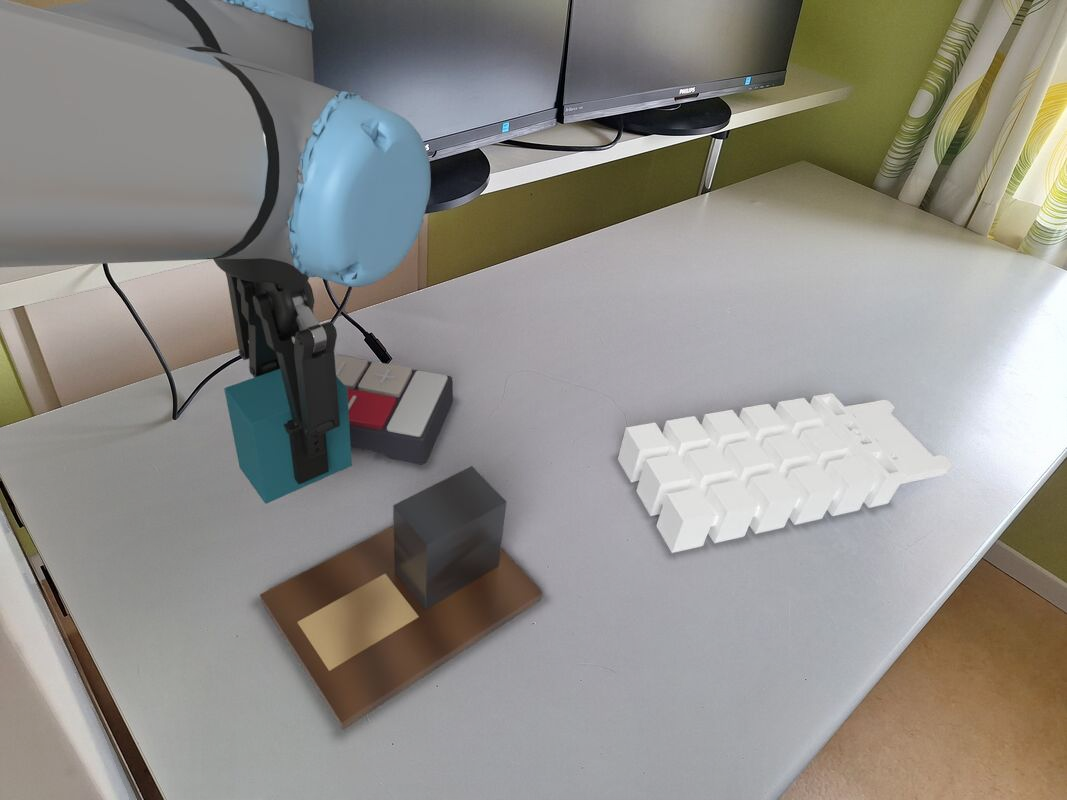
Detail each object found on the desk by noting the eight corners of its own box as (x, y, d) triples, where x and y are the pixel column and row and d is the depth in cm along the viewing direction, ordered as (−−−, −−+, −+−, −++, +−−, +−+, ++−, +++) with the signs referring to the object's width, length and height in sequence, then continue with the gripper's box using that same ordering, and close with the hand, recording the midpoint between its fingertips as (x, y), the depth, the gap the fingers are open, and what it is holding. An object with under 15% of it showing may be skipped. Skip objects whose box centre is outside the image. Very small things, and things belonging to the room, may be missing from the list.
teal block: (265, 504, 63) (251, 424, 57) (239, 467, 65) (223, 387, 59) (352, 465, 67) (347, 387, 61) (324, 433, 70) (317, 355, 64)
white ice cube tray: (625, 427, 80) (888, 383, 91) (617, 459, 83) (872, 413, 94) (683, 521, 71) (967, 460, 82) (671, 553, 74) (946, 490, 85)
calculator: (326, 348, 87) (453, 370, 85) (330, 378, 89) (453, 399, 88) (283, 410, 78) (423, 435, 77) (289, 440, 81) (425, 465, 79)
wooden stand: (342, 730, 58) (333, 660, 51) (261, 602, 66) (244, 526, 59) (541, 600, 69) (555, 527, 62) (452, 502, 76) (456, 429, 70)
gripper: (386, 252, 47) (389, 502, 62) (258, 144, 57) (288, 383, 72) (271, 284, 43) (305, 543, 58) (155, 162, 53) (209, 412, 68)
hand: (295, 454), depth 65 cm, fingers closed on teal block, 5 cm apart
